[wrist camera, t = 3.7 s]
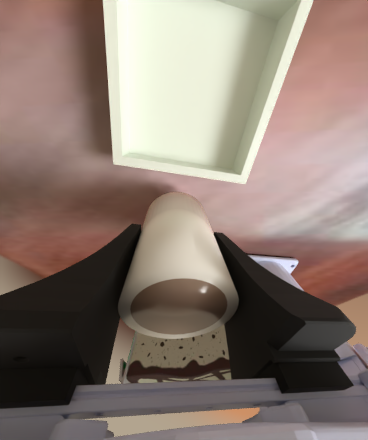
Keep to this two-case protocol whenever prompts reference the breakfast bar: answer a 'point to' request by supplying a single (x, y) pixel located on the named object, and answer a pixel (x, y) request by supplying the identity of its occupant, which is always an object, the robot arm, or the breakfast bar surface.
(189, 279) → the cup
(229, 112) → the tray
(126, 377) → the food container
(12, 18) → the breakfast bar surface
